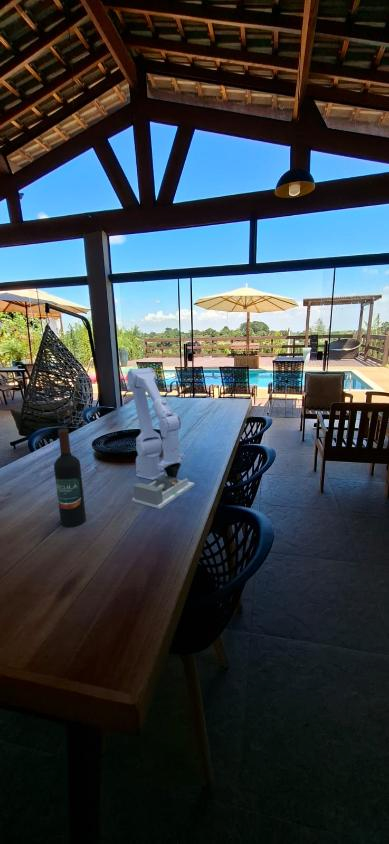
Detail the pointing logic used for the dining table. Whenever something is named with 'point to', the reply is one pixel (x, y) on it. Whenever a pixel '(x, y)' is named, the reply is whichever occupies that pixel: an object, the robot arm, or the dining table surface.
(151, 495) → the gauge frame
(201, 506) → the dining table surface
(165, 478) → the block with orange peg
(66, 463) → the wine bottle
